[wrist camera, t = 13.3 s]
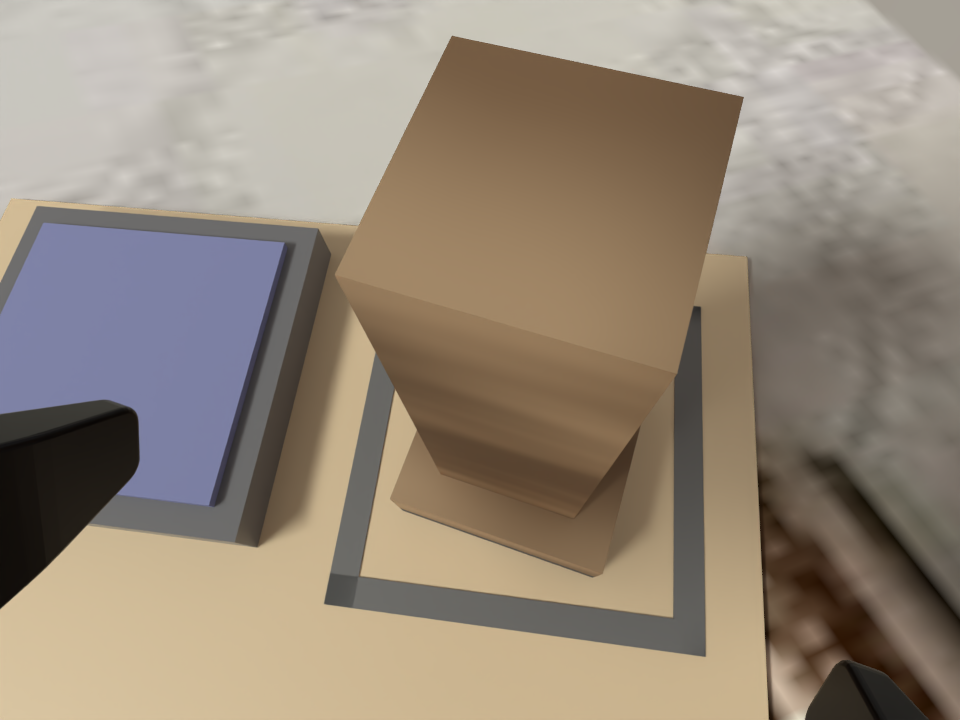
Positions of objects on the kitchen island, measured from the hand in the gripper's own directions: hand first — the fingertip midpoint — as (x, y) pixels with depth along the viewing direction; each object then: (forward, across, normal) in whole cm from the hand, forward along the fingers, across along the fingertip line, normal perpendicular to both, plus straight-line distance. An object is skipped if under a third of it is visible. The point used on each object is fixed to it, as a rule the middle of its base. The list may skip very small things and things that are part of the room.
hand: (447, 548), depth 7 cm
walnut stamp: (+10, 0, +4) cm, 10 cm away
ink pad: (+9, +12, +5) cm, 15 cm away
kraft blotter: (+8, +6, +6) cm, 12 cm away
